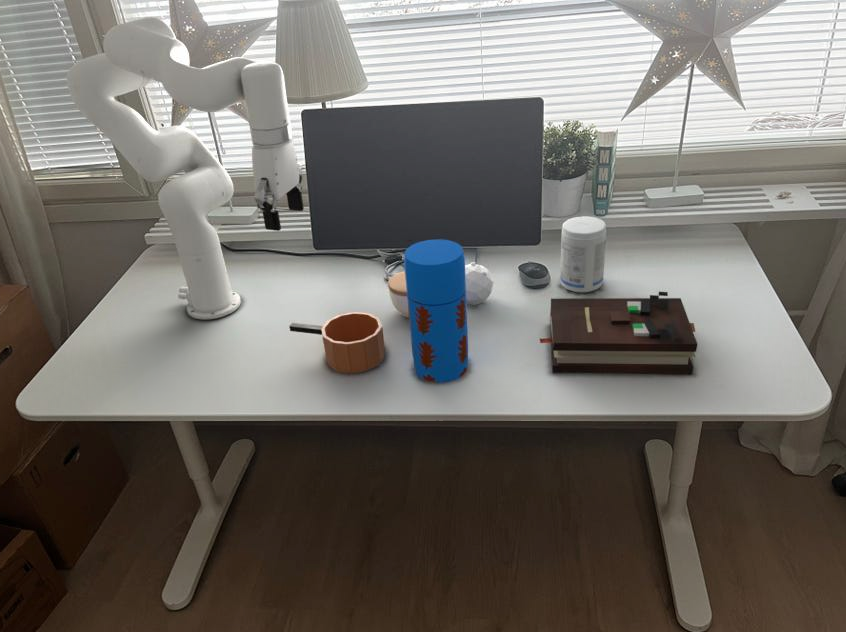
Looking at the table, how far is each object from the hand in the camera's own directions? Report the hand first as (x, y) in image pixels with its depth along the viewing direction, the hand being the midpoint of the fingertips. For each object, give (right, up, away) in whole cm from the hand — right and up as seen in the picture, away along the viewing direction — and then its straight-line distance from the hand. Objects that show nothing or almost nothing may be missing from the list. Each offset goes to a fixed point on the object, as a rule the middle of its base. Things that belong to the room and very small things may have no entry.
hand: (285, 219), depth 143 cm
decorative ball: (+40, -14, +19) cm, 47 cm away
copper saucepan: (+10, -27, +5) cm, 29 cm away
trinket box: (+26, -17, +17) cm, 36 cm away
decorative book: (+66, -26, -2) cm, 71 cm away
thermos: (+31, -30, -2) cm, 43 cm away
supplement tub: (+65, -11, +21) cm, 69 cm away
